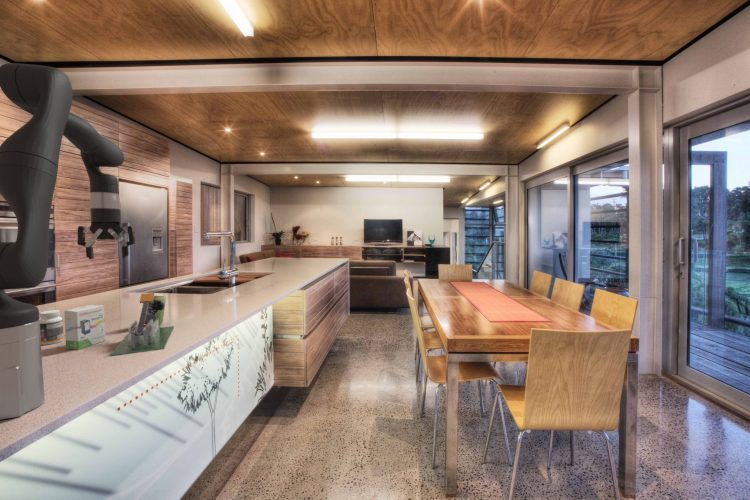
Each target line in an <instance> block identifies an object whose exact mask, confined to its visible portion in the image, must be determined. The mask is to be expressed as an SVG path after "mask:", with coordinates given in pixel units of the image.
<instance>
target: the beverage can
mask: <svg viewBox="0 0 750 500" xmlns="http://www.w3.org/2000/svg"><path fill="white" fill-rule="evenodd" d="M153 293H154V299H153V302H150V303H149V305H148V310H147V314H153V313H156V319H157V318H158V322H159V326H161V325H162V324H163V322H164V315H165V310H166V309H165V307H166V302H167V298H166V296H165V293H159V292H156V293H155V292H153ZM144 325H145V326H146V325H147V318H146V319H145V324H144Z"/></svg>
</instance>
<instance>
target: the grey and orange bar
mask: <svg viewBox="0 0 750 500" xmlns="http://www.w3.org/2000/svg"><path fill="white" fill-rule="evenodd" d="M154 293H155V292H151V293H149V292H148V293H141V295H140V299H139V304H142V308H141V312H140V317H139V321H138V322H139V325H138V329H137V333H135V336H142V335H143V329H144V327H145V325H146V324H145V319H146V315H147V310H148V305H149V303H150V302H153V299H154Z"/></svg>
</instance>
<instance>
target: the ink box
mask: <svg viewBox="0 0 750 500" xmlns="http://www.w3.org/2000/svg"><path fill="white" fill-rule="evenodd" d="M63 315H64V331H65V332H64V333H65V335H64V337H65V349H66V350H67V349H69V350H70V349H71V350H77V351H78V350H82V349H85V348H87V347H90V346H93V345H97V344H100V343H102V342H105V341H106V338H107V337H106V323H105V306H104V305H100V304H99V305H97V304H88V305H83V306H79V307H73V308H70V309H69V308H68V309H65V310H64V314H63Z"/></svg>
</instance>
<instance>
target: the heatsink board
mask: <svg viewBox="0 0 750 500" xmlns="http://www.w3.org/2000/svg"><path fill="white" fill-rule="evenodd" d="M146 318H147V325H146V324H145V326H144V329H143V335H142V336H135V333H137V329H138V325H139V321H137V320H134V321H133V322H132V323H131V324H130V325H129V326H128V327H127V328H128V334H127V335H126V336H125V337H124V338H123V339H122V340H121V342H120V343H119V344H117V346H116V347H115V348H114V350H113V351H112V352H111V353H110V356H111V357H112V356H119V355H126V354H134V353H135V354H136V353H141V352H142V353H144V352H150V351H158V350H164V349H165V348H166V347H167V346H166V345H167V343H168V340H169V339H170V336H171V334H172V333H173V331H174V328H175V326H174V325H172V326H162V327H161V325H159V322H158V318H157V319H156V313H153V314H147V315H146Z"/></svg>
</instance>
